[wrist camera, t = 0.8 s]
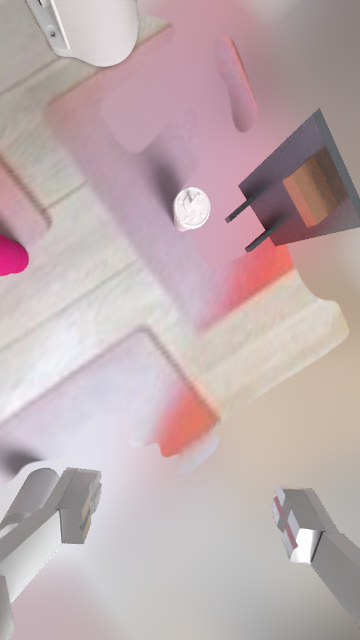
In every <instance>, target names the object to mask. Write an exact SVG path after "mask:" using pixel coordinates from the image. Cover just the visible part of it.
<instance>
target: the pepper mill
mask: <svg viewBox="0 0 360 640" xmlns="http://www.w3.org/2000/svg"><path fill="white" fill-rule="evenodd" d="M28 261H29V258H28V254H27V252H26V250H25V249H24V247H23V246H21V245H20V244H19V243H17V242H15V241H12V240H10V239H8V238H7V237H5V236H3V235H0V276H4V275H8V274H11V273H19V272H21V271H23V270H24V269H25V268H26V267H27V265H28Z"/></svg>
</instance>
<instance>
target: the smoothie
mask: <svg viewBox="0 0 360 640" xmlns="http://www.w3.org/2000/svg"><path fill="white" fill-rule="evenodd" d="M173 211H174V225H175V227H176V228H177V229H178V230H179V231H186V230H188V229H193V228H197V227H200V226H201V225H203V224H204V223H205V221H206V220H207V218H208V216H209V213H210V202H209V199H208V197H207V195H206V194H205V193H204V192H203V191H202V190H201V189H199V188H196V187H187V188H184V189H183V190H181V191H180V192H179V193H178V195H177V196H176V198H175V201H174V205H173Z"/></svg>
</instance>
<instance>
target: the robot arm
mask: <svg viewBox="0 0 360 640" xmlns="http://www.w3.org/2000/svg"><path fill="white" fill-rule="evenodd" d="M25 1H26V3H27V4H28V6H29V8H30V10H31V12H32V14H33V15H34V17H35V19H36V21H37V23H38V25H39V27H40V28H41V30H42V32H43V34H44V36H45V38H46V39H47V41H48V43H49V45H50V47H51V49H52V50H53V52H54V53H55V54H57V55H59V56H63V57H76V58H78V59H81V60H83V61H85V62H87V63H89V64H92V65H95V66H103V67H106V66H112V65H116V64H118V63H120V62H121V61H123V60H124V59H125V58H126V57H127V56H128V55H129V54H130V53H131V51H132V49H133V47H134V45H135V43H136V40H137V35H138V26H139V21H138V11H137V0H25ZM52 35H55V36H54V37H52ZM100 479H101V471H96V470H87V469H78V468H67V469H66V470H65V471H64V472H63V474H62V475H61V477H60V479H59V480H58V482H57V484H56V486H55V487H54V489H53V491H52V492H51V494H50V496H49V497H48V499H47V501H46V502H45V504H44V506H43V507H42V508H38V509H37V510H36V511H34V512H33V513H32V514H31V515H29V516H28V517H27V518H26V519H24V520H23V521H22V522H21V523H19V524H18V525H17V526H16V527H14V528H13V529H12V530H11V531H10V532H8V533H7V534H6V535H5V536H3V537H2V538H1V539H0V640H9V638H10V636H11V634H12V632H13V630H14V618H13V613H12V608H11V603H12V602H13V601H14V600H15V598H16V597H17V596H18V595H19V594H20V593H21V592H22V590H23V589H24V588H25V587H26V586H27V585H28V583H29V582H30V581H31V580H32V579H33V578H34V577H35V575H36V574H37V573H38V572H39V571H40V570H41V568H42V567H43V566H44V565H45V564H46V563H47V561H48V560H49V559H50V558H51V557H52V556H53V554H54V553H55V552H56V551H57V550H58V549H59V548H60V546H61V545H62V543H69V544H84V541H85V539H86V536H87V533H88V530H89V528H90V525H91V515H92V514H93V513H94V512H95V511H96V508H97V506H98V503H99V498H100V494H101V484H100V482H99V481H100ZM275 492H276V494H277V496H276V497H275V498H274V499H273V503H272V509H273V516H274V520H275V522H276V525H277V527H278V528H279V529H280V530H281V531H282V533H283V535H282V542H283V544H284V547H285V550H286V552H287V555H288V558H289V560H290V561H292V562H300V563H309V564H311V566H312V567H313V569H314V570H315V571H316V572H317V574H318V575H319V577H320V578H321V579H322V580H323V582H324V583H325V584H326V586H327V587H328V588H329V589H330V591H331V592H332V594H333V595H334V596H335V597H336V599H337V600H338V601H339V603H340V604H341V605H342V606H343V608H344V609H345V610H346V612H347V613H348V614H349V616H350V617H351V618H352V620H353V621H354V622H355V624H356V625H357V626H358V627H359V629H360V549H359V548H358V547H357V546H356V545H355V544H354V543H353V542H352V541H351V540H350V539H349V538H348V537H346V536H345V535H344V534H342V533H339V531H338V529H337V528H336V526H335V524H334V523H333V521H332V520H331V518H330V516H329V514H328V513H327V511H326V510H325V508H324V506H323V505H322V503H321V501H320V499H319V498H318V496H317V494H316V493H315V491H314V490H313V489H311V488H301V487H293V486H277V488H276V491H275Z"/></svg>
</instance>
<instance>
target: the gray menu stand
mask: <svg viewBox="0 0 360 640" xmlns="http://www.w3.org/2000/svg"><path fill="white" fill-rule="evenodd" d="M239 188H240V189H241V191H242V193H243V194H244V196H245V197H246V199H247V201H245V202H244V203H243V204H242V205H241V206H240V207H238V208H237V209H236V210H235V211H234V212H233V213H232V214H230V215H229V216H228V217H227V218H226V219H225V220H226V222H227V223H229V222H230V221H232V220H233V219H234V218H235V217H236V216H237V215H238V214H239V213H241V212H242V211H243V210H244V209H245V208H246V207H247V206H249V205H250V206H251V207H252V209H253V211H254V212H255V214H256V215H257V217H258V218H259V220H260V222H261V224H262V225H263V227H264V228H265V230H266V231H264V232H263V233H262V234H261V235H260V236H259V237H258V238H256V239H255V240H254V241H253V242H252V243H251V244H250V245H248V246H247V247H246V248H245V250H246V252H250V251H252V250H253V249H254V248H256V247H257V246H258V245H259V244H260V243H261V242H262V241H264V240H265V239H266V238H267V237H268V236H269V237H270V238H271V240H272V241H273V243H274V245H275V246H279V245H283V244H287V243H291V242H296V241H300V240H305V239H309V238H314V237H318V236H322V235H327V234H331V233H336V232H340V231H344V230H348V229H353V228H358V227H360V198H359V196H358V194H357V191H356V189H355V187H354V185H353V183H352V180H351V178H350V176H349V173H348V171H347V169H346V167H345V164H344V162H343V160H342V158H341V155H340V153H339V151H338V149H337V146H336V144H335V142H334V140H333V137H332V135H331V133H330V131H329V128H328V127H327V124H326V122H325V119H324V117H323V115H322V112H321V110H320V109H318V110H317V111H316V112H315V113H313V114H312V115H311V116H310V117H309V118H308V119H307V120H306V121H305V122H304V123H303V124H302V125H301V126H300V127H299V128H298V129H297V130H296V131H295V132H294V133H293V134H292V135H291V136H289V138H287V139H286V140H285V141H284V142H283V143H282V144H281V145H280V146H279V147H278V148H277V149H276V150H275V151H274V152H273V153H272V154H271V155H270V156H269V157H268V158H267V159H266V160H264V161H263V163H262V164H261V165H259V166H258V167H257V168H256V169H255V170H254V171H253V172H252V173H251V174H250V175H249V176H248V177H247V178H246V179H245V180H244V181H243V182H242V183H241V184H240V185H239Z"/></svg>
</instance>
